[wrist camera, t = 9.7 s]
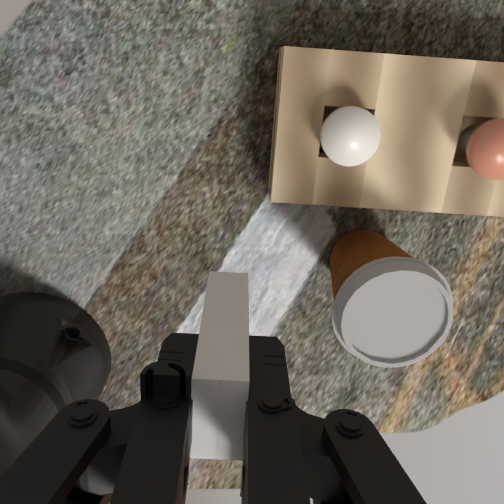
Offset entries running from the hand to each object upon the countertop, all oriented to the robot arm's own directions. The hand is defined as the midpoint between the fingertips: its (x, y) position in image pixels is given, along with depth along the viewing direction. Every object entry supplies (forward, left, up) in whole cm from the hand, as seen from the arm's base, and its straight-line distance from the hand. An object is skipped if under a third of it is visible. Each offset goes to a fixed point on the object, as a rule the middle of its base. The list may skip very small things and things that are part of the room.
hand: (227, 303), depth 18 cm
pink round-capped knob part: (+19, +4, -23) cm, 30 cm away
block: (+14, +4, -26) cm, 30 cm away
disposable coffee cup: (+13, -9, -27) cm, 31 cm away
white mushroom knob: (+8, +4, -24) cm, 26 cm away
